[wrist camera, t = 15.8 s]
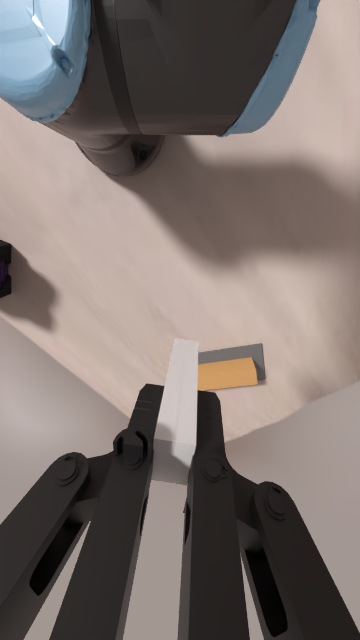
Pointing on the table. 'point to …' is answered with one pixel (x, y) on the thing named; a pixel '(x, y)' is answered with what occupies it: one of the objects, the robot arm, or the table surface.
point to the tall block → (226, 374)
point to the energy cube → (5, 268)
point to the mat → (236, 357)
